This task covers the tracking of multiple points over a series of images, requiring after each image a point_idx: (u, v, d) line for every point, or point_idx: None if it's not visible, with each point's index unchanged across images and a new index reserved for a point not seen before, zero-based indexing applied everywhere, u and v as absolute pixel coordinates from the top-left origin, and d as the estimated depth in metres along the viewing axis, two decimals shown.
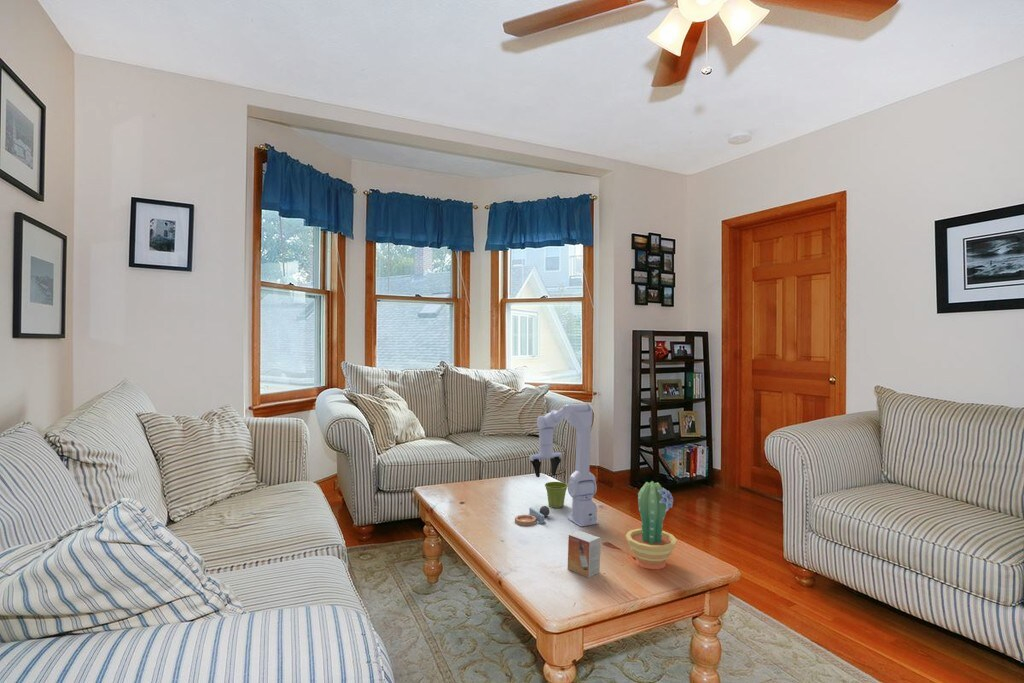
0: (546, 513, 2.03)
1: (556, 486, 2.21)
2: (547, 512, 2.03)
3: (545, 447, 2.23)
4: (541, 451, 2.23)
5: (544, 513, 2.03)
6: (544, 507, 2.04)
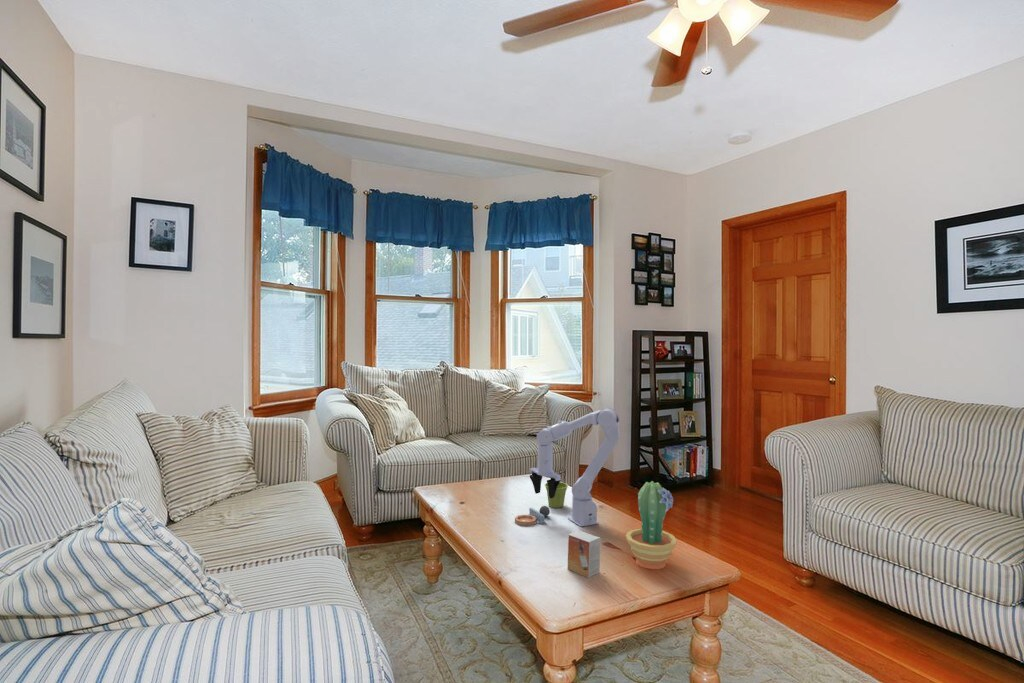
0: (546, 513, 2.03)
1: None
2: (547, 512, 2.03)
3: (538, 462, 2.04)
4: None
5: (544, 513, 2.03)
6: (544, 507, 2.04)
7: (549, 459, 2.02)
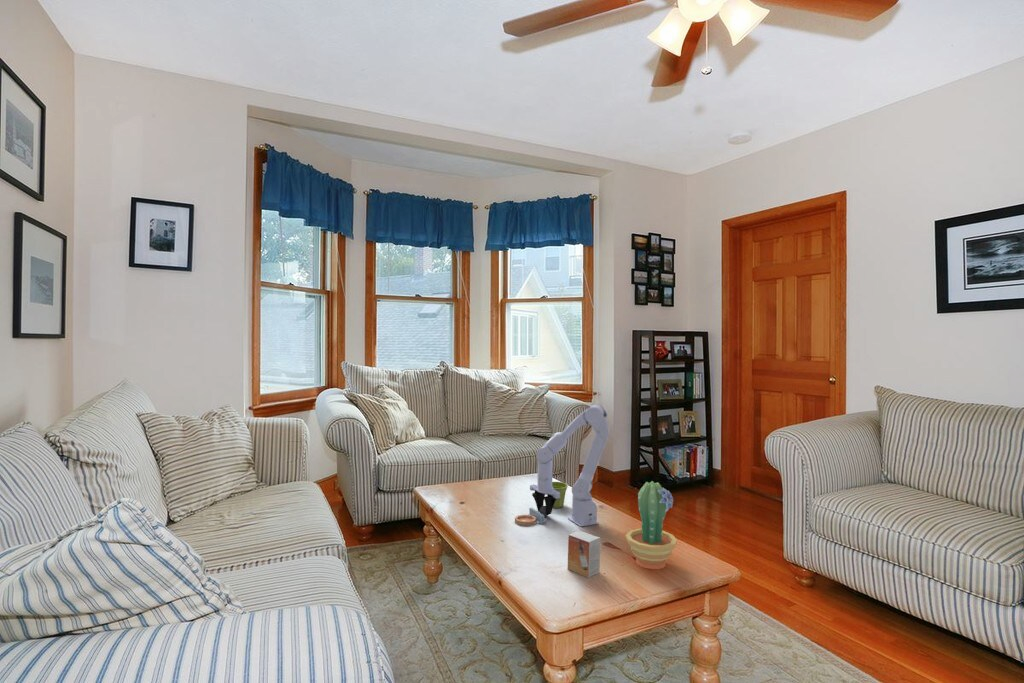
0: None
1: (556, 486, 2.21)
2: None
3: None
4: None
5: (544, 513, 2.03)
6: (544, 507, 2.04)
7: (549, 477, 2.02)
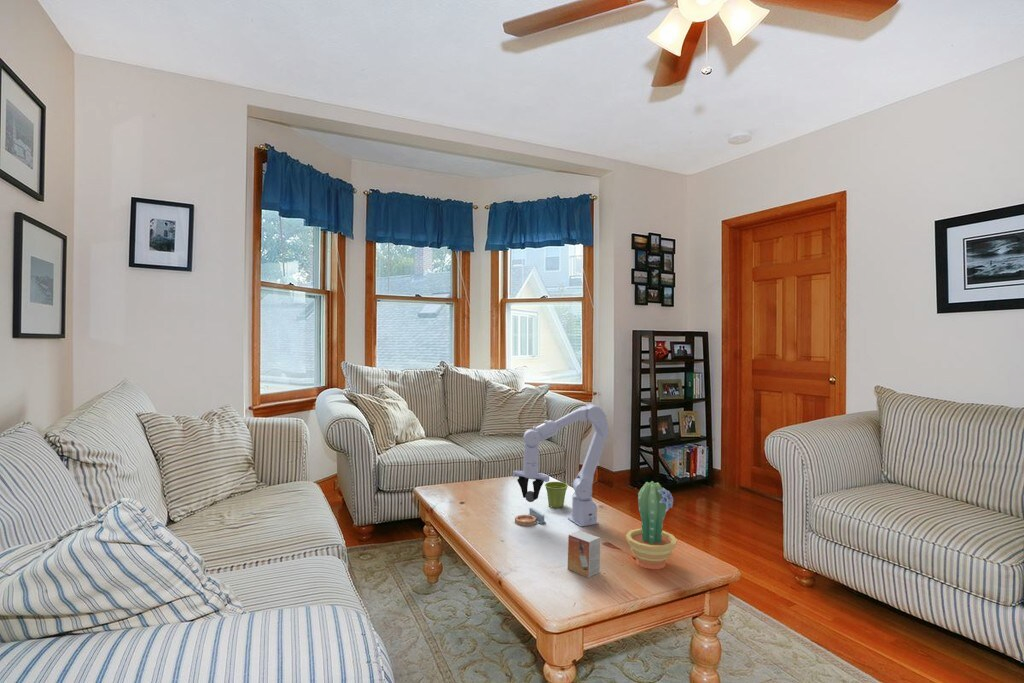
0: (533, 498, 1.99)
1: (556, 486, 2.21)
2: None
3: (524, 465, 1.99)
4: None
5: (531, 498, 1.98)
6: (531, 492, 1.99)
7: (537, 460, 1.98)
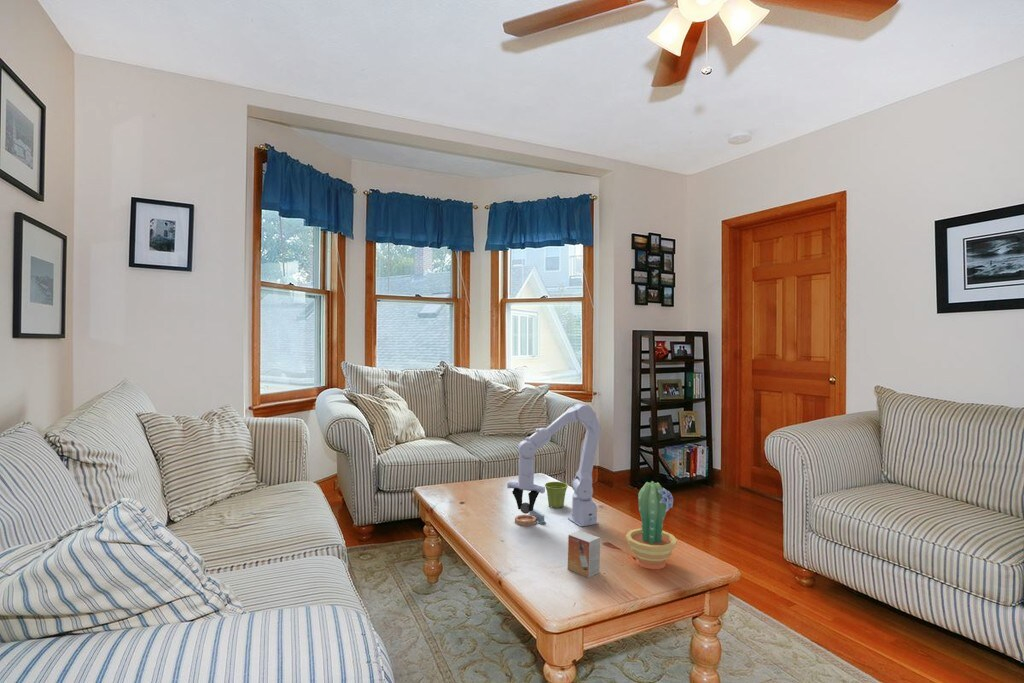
0: None
1: (556, 486, 2.21)
2: None
3: (519, 476, 1.97)
4: None
5: (527, 510, 1.97)
6: (526, 504, 1.98)
7: (532, 472, 1.97)
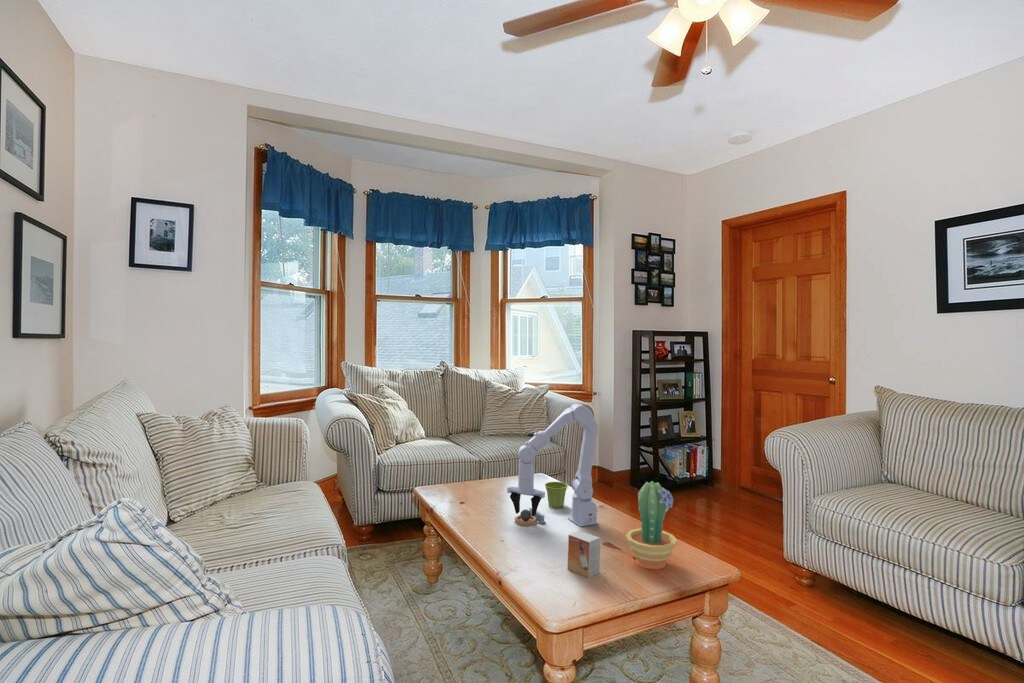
0: (529, 517, 1.97)
1: (556, 486, 2.21)
2: (530, 516, 1.97)
3: (519, 481, 1.97)
4: None
5: (527, 517, 1.97)
6: (526, 511, 1.98)
7: (532, 476, 1.97)
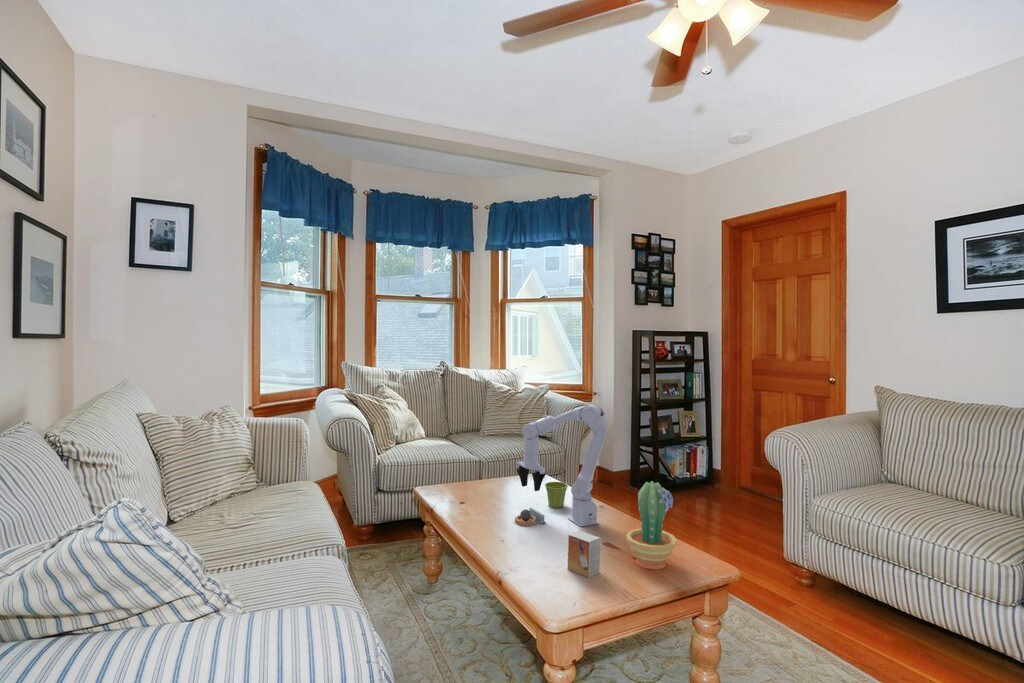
0: (529, 517, 1.97)
1: (556, 486, 2.21)
2: (529, 516, 1.97)
3: (524, 456, 2.07)
4: None
5: (527, 517, 1.97)
6: (526, 511, 1.98)
7: (534, 452, 2.05)
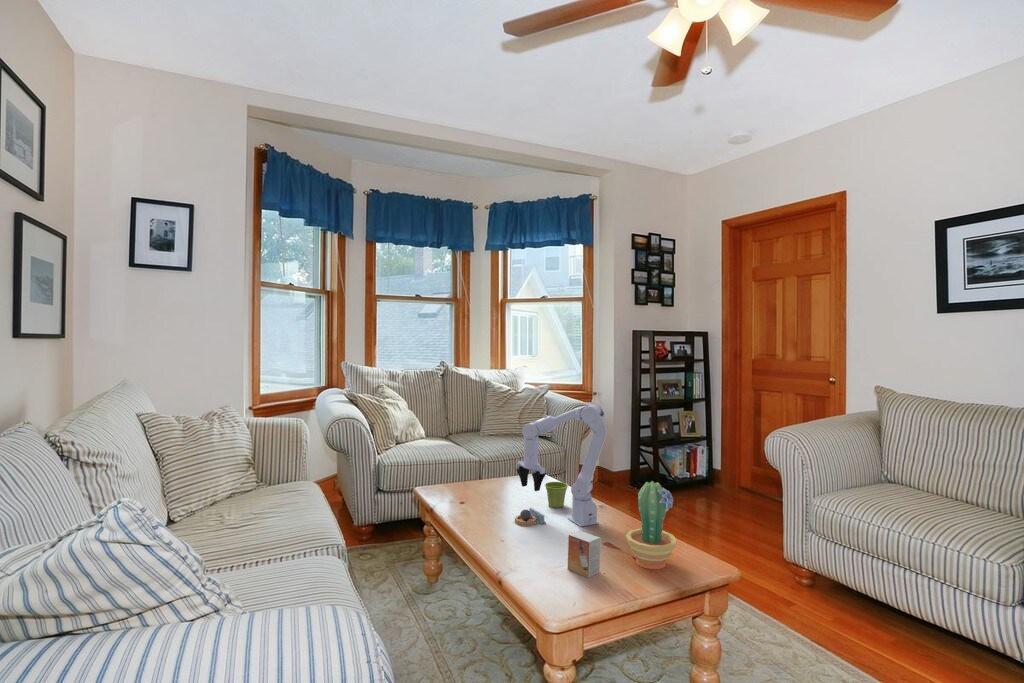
0: (529, 517, 1.97)
1: (556, 486, 2.21)
2: (529, 516, 1.97)
3: (524, 456, 2.07)
4: None
5: (527, 517, 1.97)
6: (526, 511, 1.98)
7: (534, 452, 2.05)
